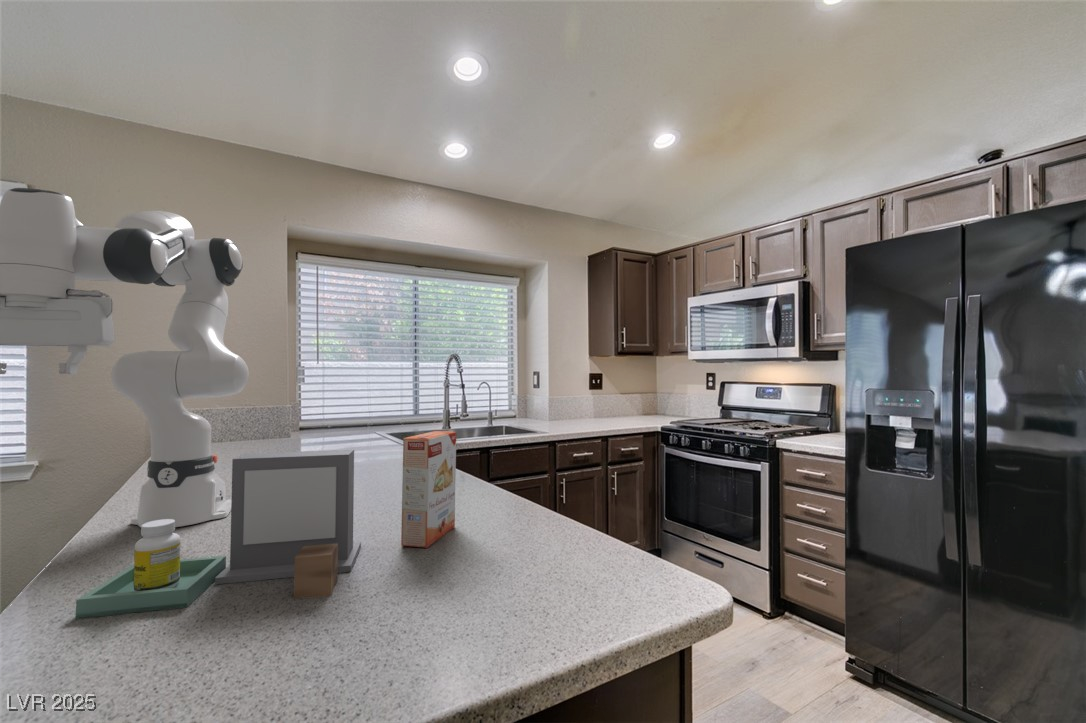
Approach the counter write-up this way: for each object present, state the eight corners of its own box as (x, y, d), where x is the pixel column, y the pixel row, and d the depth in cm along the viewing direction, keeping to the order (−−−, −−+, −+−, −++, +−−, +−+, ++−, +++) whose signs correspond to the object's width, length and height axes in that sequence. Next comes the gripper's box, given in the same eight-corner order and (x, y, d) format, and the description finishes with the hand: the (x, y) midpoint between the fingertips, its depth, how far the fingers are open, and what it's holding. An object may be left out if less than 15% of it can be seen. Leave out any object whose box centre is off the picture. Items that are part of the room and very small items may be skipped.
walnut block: (302, 585, 73) (303, 546, 73) (337, 581, 74) (337, 543, 75) (294, 599, 68) (294, 557, 69) (330, 595, 69) (331, 554, 70)
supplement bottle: (130, 588, 70) (132, 523, 71) (175, 577, 74) (177, 515, 75) (136, 600, 67) (138, 530, 67) (183, 587, 71) (184, 522, 71)
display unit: (243, 556, 85) (246, 451, 86) (360, 546, 90) (362, 447, 91) (214, 584, 73) (217, 462, 74) (350, 571, 78) (352, 456, 79)
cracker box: (429, 549, 88) (429, 438, 89) (399, 547, 89) (400, 437, 90) (457, 526, 102) (457, 430, 103) (431, 525, 103) (432, 430, 104)
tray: (134, 579, 75) (135, 563, 76) (225, 570, 79) (226, 555, 79) (75, 618, 63) (76, 599, 63) (187, 607, 66) (187, 589, 66)
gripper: (124, 294, 81) (122, 374, 80) (-25, 289, 76) (-29, 374, 75) (99, 287, 75) (96, 373, 74) (-65, 281, 70) (-69, 374, 69)
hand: (32, 374), depth 75 cm, fingers open, 8 cm apart
